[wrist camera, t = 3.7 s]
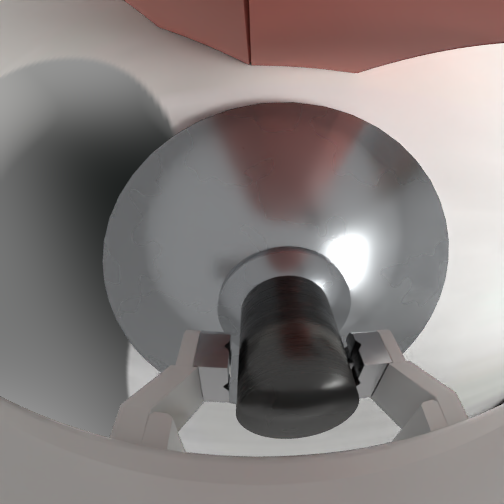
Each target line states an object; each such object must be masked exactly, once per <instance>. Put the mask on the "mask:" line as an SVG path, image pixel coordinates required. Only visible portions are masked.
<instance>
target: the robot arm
mask: <svg viewBox="0 0 504 504" xmlns="http://www.w3.org/2000/svg"><path fill="white" fill-rule="evenodd" d="M346 343H347V347H345V348H344V349H345V352H346V355H347V358H348V361H349V364H350V368H351V371H352V374H353V377H354V381H355V384H356V387H357V391H358V394H359V398H366V397H371V399H372V400H373V401H374V402H375V403H376V404H377V405H378V406H379V407H380V408H381V409H382V410H383V411H384V412H385V413H386V414H387V415H388V416H389V417H390V418H391V419H392V420H393V421H394V422H395V423H396V424H397V425H398V426H399V427H400V428H401V429H402V430H401V431H400V432H399V433H398V434H397V436H396V437H395V438H394V439H393V441H392V442H390V443H386V444H381V445H376V446H371V447H365V448H359V449H353V450H346V451H339V452H331V453H322V454H311V455H297V456H273V457H247V456H223V455H209V454H198V453H189V452H185V449H184V447H183V444H182V442H181V439H180V437H179V434H178V431H179V430H180V429H181V428H182V427H183V426H184V424H185V423H186V422H187V421H188V420H189V419H190V418H191V417H192V415H193V414H194V413H195V412H196V411H197V410H198V409H199V407H200V406H201V405H202V404H203V401H206V402H229V396H230V377H231V365H232V350H231V333H228V332H214V331H197V330H187V329H186V331H185V332H184V335H183V338H182V342H181V346H180V350H179V353H178V357H177V361H176V365H170V366H169V367H168V368H167V369H165V370H164V371H163V372H162V373H160V374H159V375H158V376H156V377H155V378H154V379H153V380H151V381H150V382H149V383H148V384H146V385H145V386H144V387H143V388H141V389H140V390H139V391H137V392H136V393H135V394H134V395H132V396H131V397H130V398H128V399H127V400H126V401H124V402H123V403H122V404H121V405H120V408H119V411H118V414H117V417H116V420H115V423H114V426H113V429H112V432H111V435H110V438H108V437H105V436H101V435H98V434H94V433H91V432H87V431H84V430H81V429H78V428H75V427H72V426H69V425H66V424H63V423H60V422H58V421H55V420H52V419H50V418H47V417H45V416H42V415H40V414H37V413H35V412H32V411H30V410H28V409H26V408H23V407H21V406H19V405H17V404H15V403H13V402H11V401H8V400H7V399H5V398H3V397H1V396H0V504H504V403H503V404H501V405H500V406H497V407H495V408H493V409H491V410H489V411H486V412H484V413H482V414H479V415H477V416H474V417H472V418H468V416H467V414H466V412H465V410H464V408H463V406H462V404H461V402H460V400H459V398H458V396H457V394H456V392H454V391H453V390H451V389H450V388H448V387H447V386H446V385H444V384H443V383H441V382H440V381H438V380H437V379H435V378H434V377H432V376H431V375H430V374H428V373H427V372H425V371H424V370H422V369H421V368H419V367H418V366H416V365H415V364H413V363H412V362H411V361H406V360H405V358H404V356H403V354H402V352H401V350H400V348H399V346H398V344H397V342H396V340H395V338H394V336H393V334H392V332H391V331H390V330H376V331H364V332H350V333H349V334H348V335H347V338H346Z"/></svg>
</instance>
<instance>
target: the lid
mask: <svg viewBox="0 0 504 504" xmlns="http://www.w3.org/2000/svg"><path fill="white" fill-rule="evenodd" d="M448 246H449V241H448V232H447V225H446V219H445V216H444V212H443V209H442V206H441V202H440V200H439V197H438V195H437V193H436V191H435V189H434V187H433V185H432V183H431V181H430V179H429V178H428V176H427V175H426V173H425V172H424V170H423V169H422V168H421V166H420V165H419V163H418V162H417V161H416V160H415V159H414V158H413V157H412V155H411V154H410V153H409V152H408V151H407V150H406V149H405V148H404V147H403V146H402V145H401V144H400V143H398V142H397V141H396V140H394V139H393V138H392V137H390V136H389V135H387V134H386V133H385V132H383V131H382V130H380V129H379V128H377V127H376V126H374V125H372V124H370V123H368V122H366V121H364V120H362V119H360V118H358V117H355V116H353V115H351V114H347V113H344V112H341V111H338V110H334V109H331V108H328V107H324V106H317V105H310V104H302V103H294V102H289V103H261V104H256V105H250V106H245V107H240V108H235V109H231V110H227V111H225V112H222V113H219V114H216V115H214V116H211V117H208V118H206V119H203V120H201V121H199V122H197V123H195V124H193V125H191V126H190V127H188V128H186V129H184V130H183V131H181V132H179V133H178V134H176V135H174V136H173V137H171V138H170V139H169V140H168V141H167V142H165V143H164V144H163V145H161V146H160V147H159V148H158V149H156V150H155V151H154V152H153V153H152V154H150V156H149V157H148V158H147V159H146V160H145V161H144V162H143V163H142V164H141V166H140V167H139V168H138V169H137V170H136V171H135V172H134V174H133V175H132V176H131V178H130V180H129V181H128V182H127V184H126V186H125V187H124V189H123V190H122V192H121V194H120V195H119V197H118V199H117V202H116V204H115V207H114V209H113V211H112V214H111V216H110V219H109V222H108V226H107V230H106V235H105V239H104V249H103V274H104V283H105V287H106V292H107V296H108V300H109V303H110V305H111V308H112V310H113V313H114V315H115V318H116V320H117V321H118V323H119V325H120V327H121V329H122V331H123V332H124V334H125V335H126V337H127V338H128V340H129V341H130V342H131V344H132V345H133V346H134V347H135V349H136V350H137V351H138V352H139V353H140V354H141V355H142V356H143V357H144V358H145V359H146V360H147V361H148V362H149V363H150V364H151V365H152V366H154V367H155V368H156V369H157V370H159V371H160V372H161V373H162V372H163V371H164V370H165V369H167V368H168V367H169V366H170V365H176V361H177V357H178V353H179V350H180V346H181V342H182V338H183V335H184V332H185V331H186V329H187V330H197V331H214V332H228V333H231V350H232V365H231V377H230V396H229V402H228V403H234V404H236V416H237V419H238V421H239V423H240V424H241V425H242V426H243V427H244V428H246V429H247V430H249V431H251V432H253V433H255V434H258V435H261V436H265V437H270V438H280V439H292V438H302V437H308V436H312V435H316V434H319V433H322V432H325V431H328V430H330V429H332V428H334V427H336V426H338V425H339V424H341V423H343V422H344V421H345V420H347V419H348V418H349V417H350V416H351V415H352V414H353V413H354V411H355V410H356V408H357V406H358V404H359V394H358V391H357V387H356V384H355V381H354V377H353V374H352V371H351V368H350V364H349V361H348V358H347V355H346V352H345V349H344V348H345V347H347V343H346V338H347V335H348V334H349V333H350V332H364V331H376V330H390V331H391V332H392V334H393V336H394V338H395V340H396V342H397V344H398V346H399V348H400V350H401V352H402V354H403V353H404V352H405V351H406V350H407V349H408V347H409V346H410V345H411V344H412V343H413V342H414V341H415V339H416V338H417V337H418V335H419V334H420V333H421V331H422V330H423V329H424V327H425V325H426V324H427V322H428V320H429V319H430V317H431V315H432V313H433V311H434V309H435V307H436V305H437V302H438V300H439V298H440V295H441V292H442V288H443V285H444V282H445V277H446V271H447V265H448Z"/></svg>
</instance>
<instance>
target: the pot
mask: <svg viewBox="0 0 504 504" xmlns="http://www.w3.org/2000/svg"><path fill="white" fill-rule="evenodd" d="M124 1H125V2H127V3H128V4H129V5H131V6H132V7H133V8H135V9H136V10H137V11H139V12H140V13H141V14H143V15H144V16H145V17H146V18H148V19H149V20H150V21H152V22H153V23H154V24H155V25H157V26H158V27H159V28H162V29H165V30H168V31H171V32H174V33H176V34H179V35H182V36H184V37H187V38H190V39H192V40H195V41H197V42H200V43H202V44H205V45H207V46H209V47H212V48H214V49H216V50H218V51H221V52H223V53H225V54H227V55H229V56H232V57H234V58H236V59H238V60H240V61H242V62H244V63H246V64H248V65H249V64H250V62H251V65H264V66H292V67H306V68H318V69H327V70H336V71H343V72H350V73H359V72H362V71H365V70H369V69H372V68H375V67H379V66H382V65H386V64H389V63H393V62H397V61H401V60H405V59H409V58H413V57H417V56H422V55H426V54H431V53H436V52H441V51H446V50H452V49H458V48H464V47H471V46H479V45H487V44H497V43H504V0H124Z"/></svg>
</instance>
